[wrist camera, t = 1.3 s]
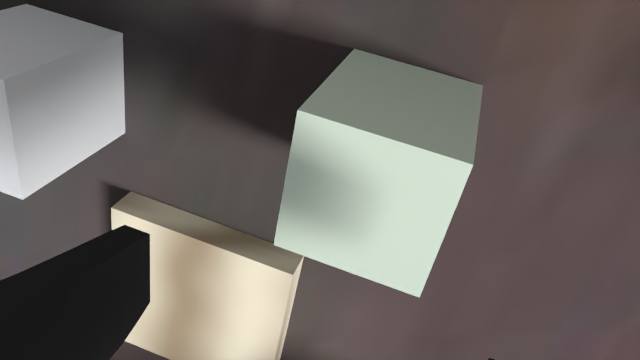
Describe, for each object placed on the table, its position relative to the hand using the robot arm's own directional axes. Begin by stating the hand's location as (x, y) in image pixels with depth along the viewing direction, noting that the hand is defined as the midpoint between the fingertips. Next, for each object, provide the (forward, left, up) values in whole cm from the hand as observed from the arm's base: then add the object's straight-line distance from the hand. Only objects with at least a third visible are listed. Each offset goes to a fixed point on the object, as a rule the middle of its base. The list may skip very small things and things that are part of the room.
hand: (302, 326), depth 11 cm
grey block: (+14, +2, -10) cm, 18 cm away
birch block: (+7, +12, -11) cm, 17 cm away
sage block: (0, 0, -10) cm, 11 cm away
